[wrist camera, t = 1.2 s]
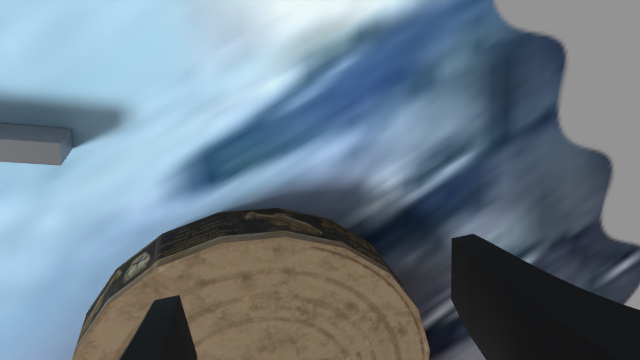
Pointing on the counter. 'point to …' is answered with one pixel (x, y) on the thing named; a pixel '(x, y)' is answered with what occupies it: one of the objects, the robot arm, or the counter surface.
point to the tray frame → (34, 144)
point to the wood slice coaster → (262, 293)
